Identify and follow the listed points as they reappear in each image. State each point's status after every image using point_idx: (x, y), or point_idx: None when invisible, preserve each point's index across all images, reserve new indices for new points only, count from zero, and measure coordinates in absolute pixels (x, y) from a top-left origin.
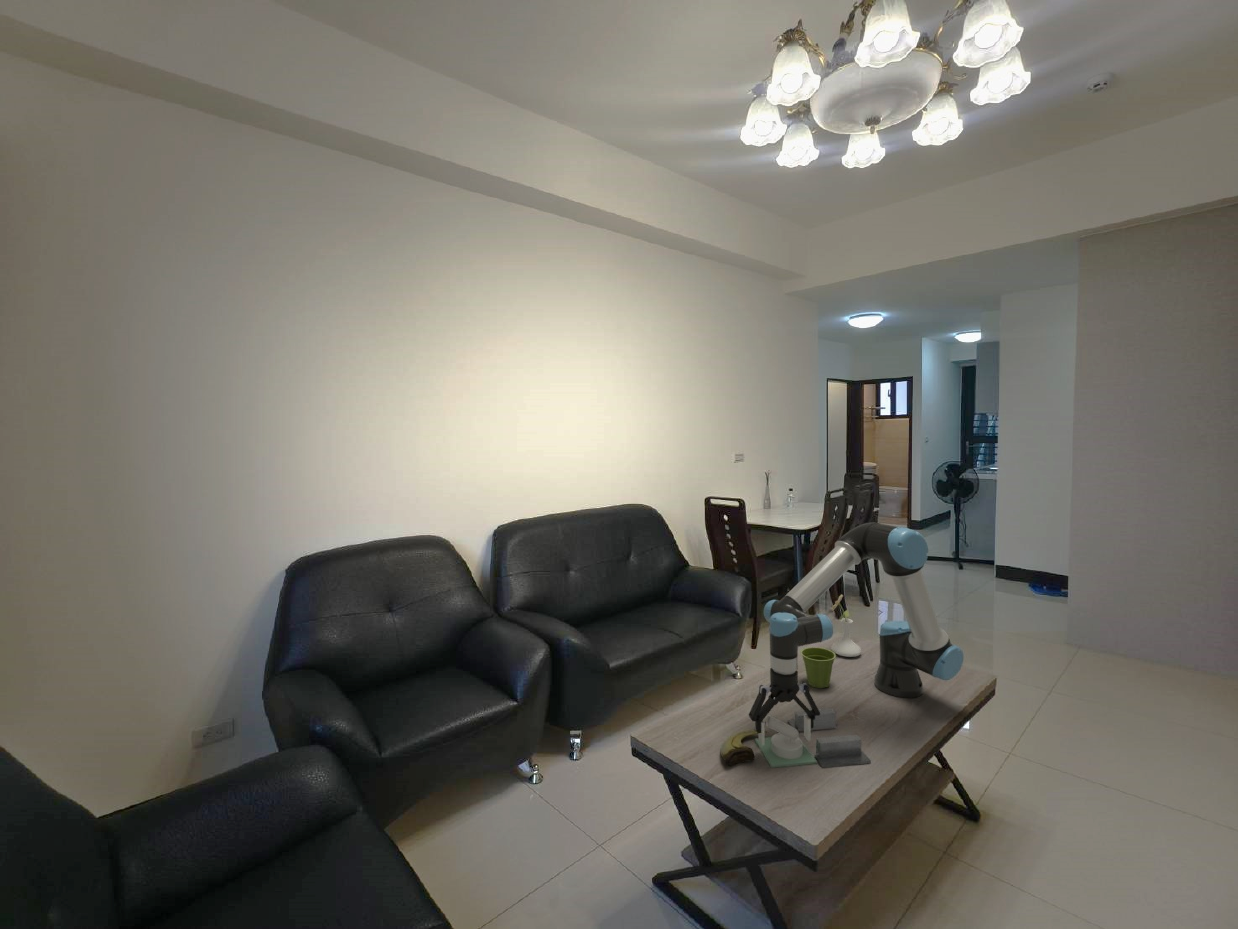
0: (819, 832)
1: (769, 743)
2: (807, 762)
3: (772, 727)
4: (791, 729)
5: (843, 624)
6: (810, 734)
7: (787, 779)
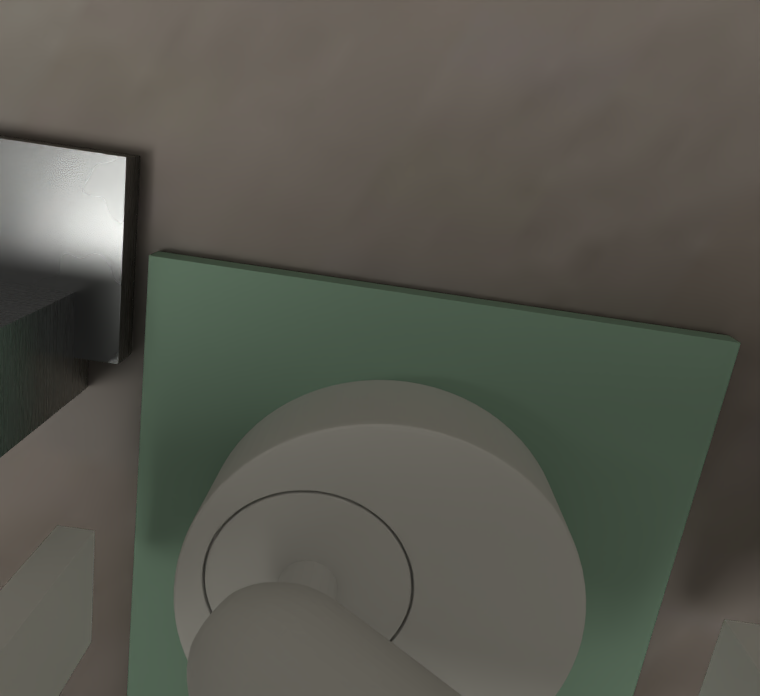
0: None
1: None
2: (273, 274)
3: None
4: None
5: None
6: (7, 587)
7: (686, 78)
